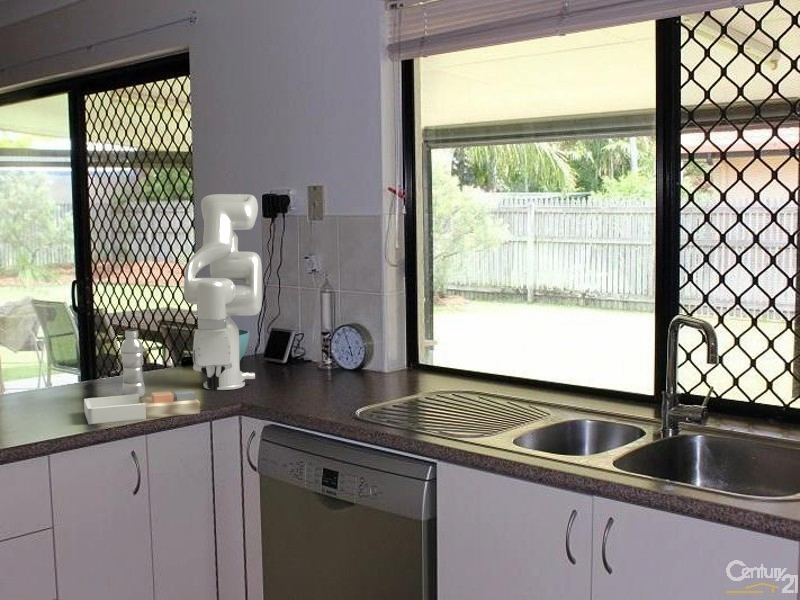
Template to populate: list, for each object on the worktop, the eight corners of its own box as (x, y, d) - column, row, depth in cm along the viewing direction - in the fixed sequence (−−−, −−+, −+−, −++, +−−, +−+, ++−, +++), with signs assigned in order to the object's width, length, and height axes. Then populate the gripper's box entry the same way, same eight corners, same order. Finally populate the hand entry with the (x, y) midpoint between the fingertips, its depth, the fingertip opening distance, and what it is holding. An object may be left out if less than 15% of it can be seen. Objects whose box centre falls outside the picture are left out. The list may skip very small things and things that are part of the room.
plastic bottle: (150, 396, 258) (148, 329, 256) (135, 401, 252) (133, 332, 250) (131, 395, 260) (129, 328, 258) (117, 399, 254) (114, 331, 252)
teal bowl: (252, 370, 299) (252, 335, 297) (197, 373, 294) (197, 337, 292) (246, 361, 316) (246, 327, 314) (194, 363, 311) (194, 329, 309)
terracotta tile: (170, 398, 243) (169, 390, 243) (173, 401, 238) (173, 394, 238) (151, 399, 241) (151, 392, 241) (154, 403, 236) (154, 396, 236)
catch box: (139, 408, 244) (138, 394, 243) (146, 418, 232) (145, 403, 231) (84, 413, 238) (83, 398, 237) (88, 424, 226) (88, 408, 225)
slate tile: (191, 396, 245) (191, 389, 245) (195, 399, 241) (195, 392, 241) (173, 397, 243) (173, 390, 243) (176, 401, 239) (176, 394, 238)
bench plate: (191, 403, 249) (191, 393, 249) (200, 413, 238) (199, 402, 238) (140, 408, 243) (140, 397, 243) (147, 418, 232) (146, 407, 232)
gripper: (235, 322, 249) (236, 386, 251) (182, 324, 243) (183, 390, 245) (241, 325, 243) (242, 390, 244) (187, 327, 236) (188, 395, 238)
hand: (213, 390), depth 245 cm, fingers closed
